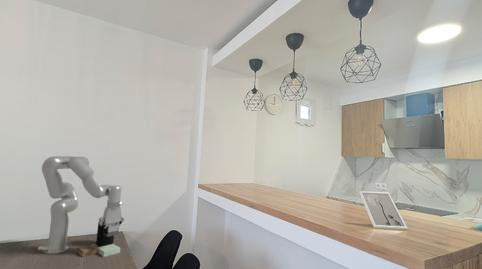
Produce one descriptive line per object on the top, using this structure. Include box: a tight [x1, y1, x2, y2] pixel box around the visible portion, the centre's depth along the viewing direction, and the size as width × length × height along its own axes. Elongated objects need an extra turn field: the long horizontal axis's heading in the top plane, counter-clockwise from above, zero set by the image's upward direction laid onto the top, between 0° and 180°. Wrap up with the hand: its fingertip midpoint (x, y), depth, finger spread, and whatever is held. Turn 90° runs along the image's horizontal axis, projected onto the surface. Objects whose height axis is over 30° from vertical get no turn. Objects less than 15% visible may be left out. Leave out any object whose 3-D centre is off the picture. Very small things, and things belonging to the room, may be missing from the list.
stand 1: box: [76, 243, 99, 258], centre depth 160 cm, size 10×10×3 cm
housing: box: [104, 223, 120, 236], centre depth 163 cm, size 6×6×7 cm
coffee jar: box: [95, 216, 115, 247], centre depth 176 cm, size 11×11×18 cm
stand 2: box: [97, 243, 121, 257], centre depth 162 cm, size 10×10×3 cm
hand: (110, 233), depth 163 cm, fingers closed on housing, 6 cm apart
